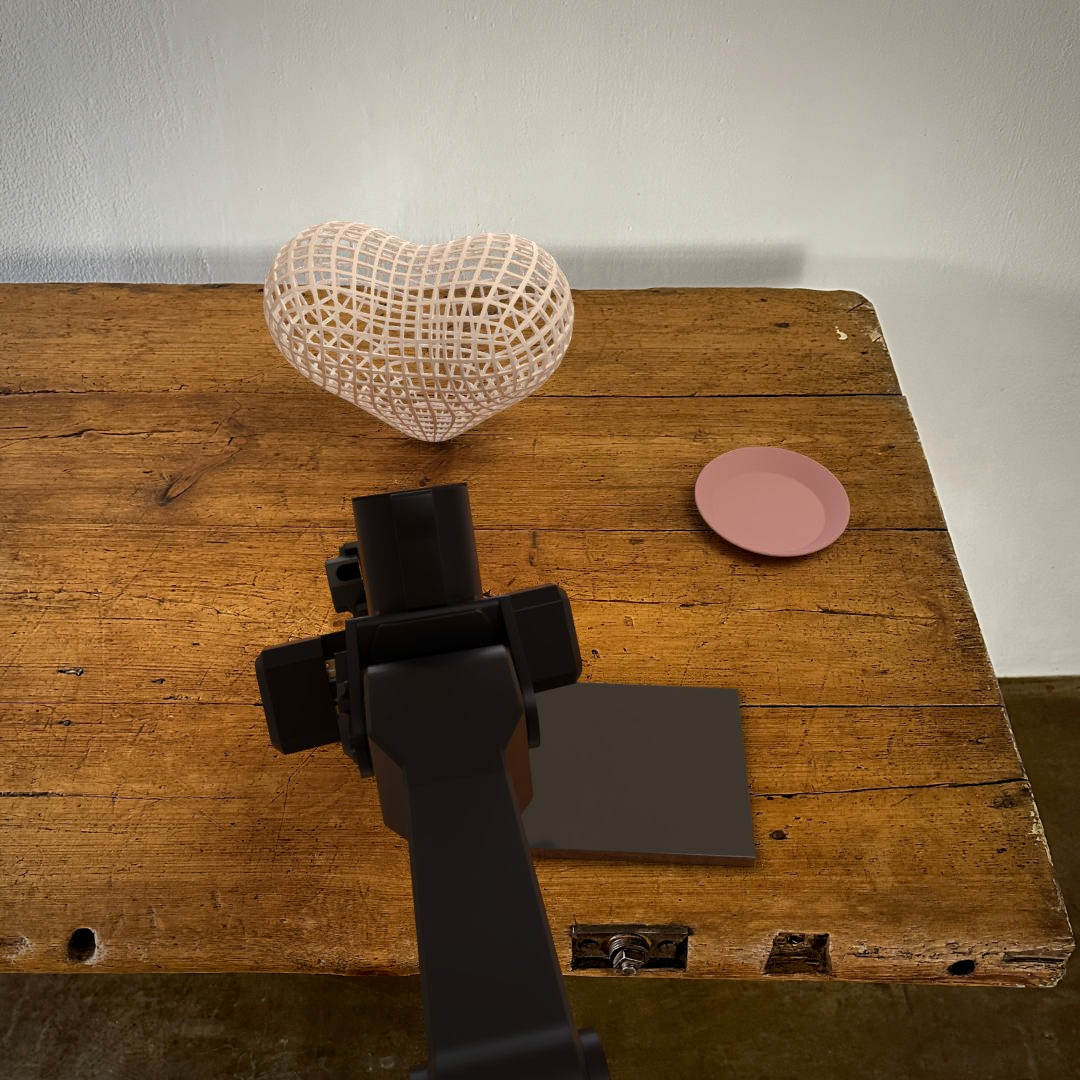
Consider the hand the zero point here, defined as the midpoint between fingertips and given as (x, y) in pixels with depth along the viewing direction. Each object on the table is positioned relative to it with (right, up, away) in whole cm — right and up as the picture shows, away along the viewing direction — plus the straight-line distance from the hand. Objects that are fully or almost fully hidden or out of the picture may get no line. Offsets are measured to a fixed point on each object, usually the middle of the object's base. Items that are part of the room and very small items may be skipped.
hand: (413, 649), depth 66 cm
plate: (+30, +10, +26) cm, 41 cm away
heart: (-2, +18, +33) cm, 37 cm away
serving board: (+14, -10, +7) cm, 19 cm away
